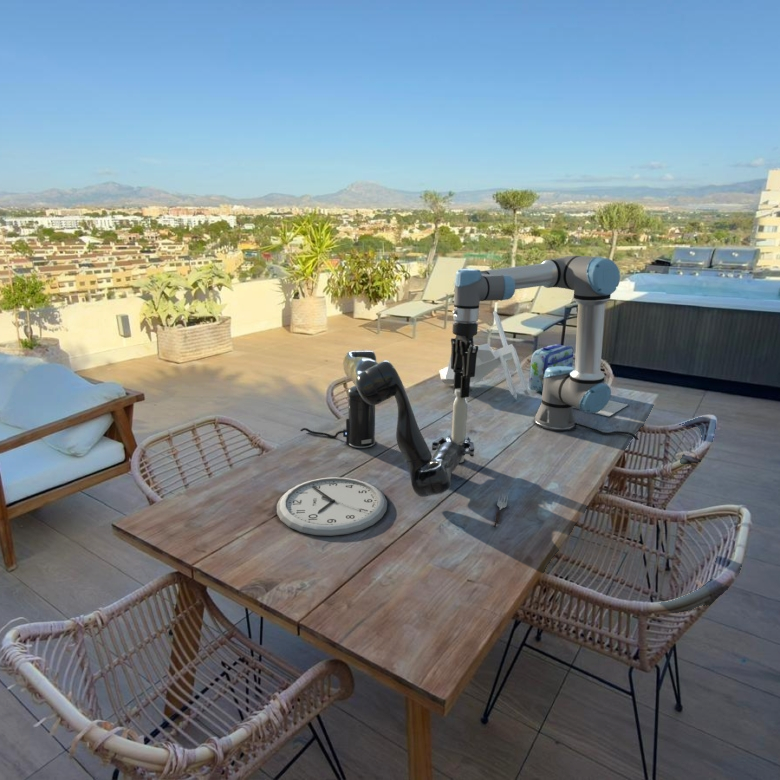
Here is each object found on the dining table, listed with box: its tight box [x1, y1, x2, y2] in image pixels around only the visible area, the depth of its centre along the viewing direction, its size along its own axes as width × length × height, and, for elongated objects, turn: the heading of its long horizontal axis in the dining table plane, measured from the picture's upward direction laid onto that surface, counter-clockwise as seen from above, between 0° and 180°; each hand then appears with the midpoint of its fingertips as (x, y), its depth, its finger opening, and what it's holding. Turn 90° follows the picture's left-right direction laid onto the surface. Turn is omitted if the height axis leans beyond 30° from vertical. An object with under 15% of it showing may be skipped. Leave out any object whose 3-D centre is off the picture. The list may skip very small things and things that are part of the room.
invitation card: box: [573, 399, 629, 418], centre depth 226 cm, size 21×1×15 cm
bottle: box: [451, 395, 469, 464], centre depth 169 cm, size 4×4×24 cm
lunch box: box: [528, 344, 574, 393], centre depth 247 cm, size 26×11×21 cm, turn 134°
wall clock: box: [276, 476, 388, 537], centre depth 142 cm, size 30×2×30 cm
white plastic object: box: [438, 310, 531, 400], centre depth 245 cm, size 37×45×31 cm
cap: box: [454, 388, 461, 397], centre depth 165 cm, size 4×4×2 cm
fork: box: [493, 493, 509, 528], centre depth 139 cm, size 3×16×2 cm, turn 160°
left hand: (460, 438), depth 172 cm, fingers closed on bottle, 4 cm apart
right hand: (461, 394), depth 165 cm, fingers closed on cap, 4 cm apart
